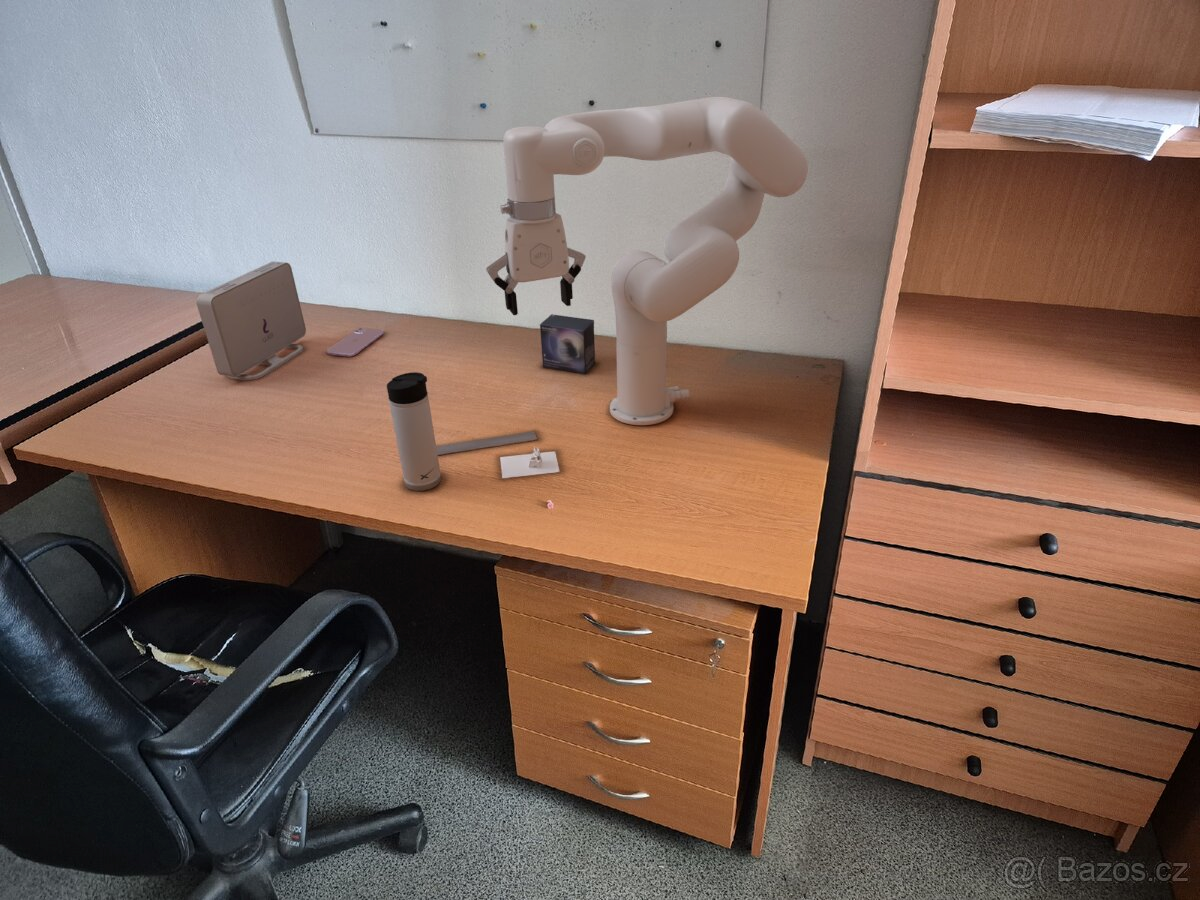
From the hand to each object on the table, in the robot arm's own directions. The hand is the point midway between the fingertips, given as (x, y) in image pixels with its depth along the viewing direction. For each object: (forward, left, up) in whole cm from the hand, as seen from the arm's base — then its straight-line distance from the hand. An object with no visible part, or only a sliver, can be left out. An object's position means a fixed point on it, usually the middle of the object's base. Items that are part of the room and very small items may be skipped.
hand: (540, 308), depth 136 cm
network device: (+56, -51, -25) cm, 80 cm away
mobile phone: (+36, -55, -25) cm, 70 cm away
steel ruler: (+13, +1, -25) cm, 28 cm away
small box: (-10, -27, -25) cm, 38 cm away
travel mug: (+24, +11, -25) cm, 36 cm away
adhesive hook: (+6, +11, -25) cm, 28 cm away
